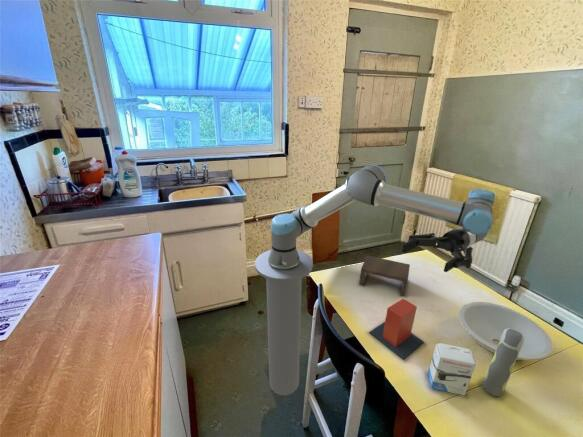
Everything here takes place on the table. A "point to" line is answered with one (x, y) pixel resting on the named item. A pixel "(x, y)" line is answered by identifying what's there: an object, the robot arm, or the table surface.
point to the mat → (403, 348)
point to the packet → (399, 322)
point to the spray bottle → (503, 362)
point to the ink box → (451, 368)
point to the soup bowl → (495, 319)
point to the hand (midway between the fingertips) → (423, 257)
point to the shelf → (385, 270)
